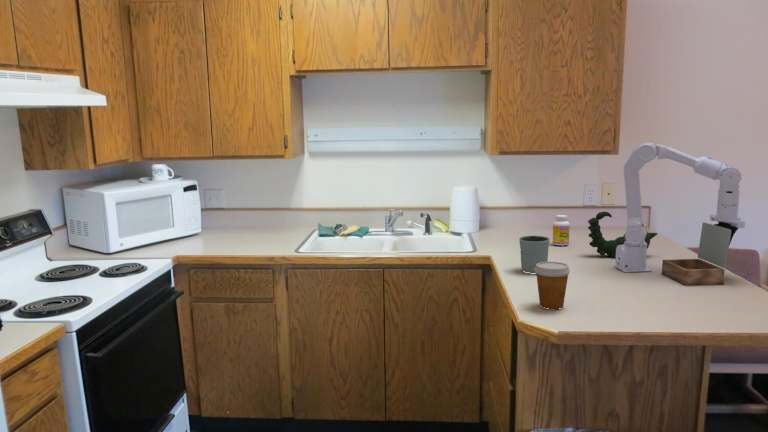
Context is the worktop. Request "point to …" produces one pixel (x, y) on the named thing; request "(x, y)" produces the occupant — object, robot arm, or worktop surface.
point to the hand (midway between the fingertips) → (724, 246)
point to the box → (693, 272)
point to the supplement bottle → (561, 230)
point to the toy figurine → (610, 245)
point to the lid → (714, 244)
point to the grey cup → (533, 251)
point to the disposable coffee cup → (552, 283)
